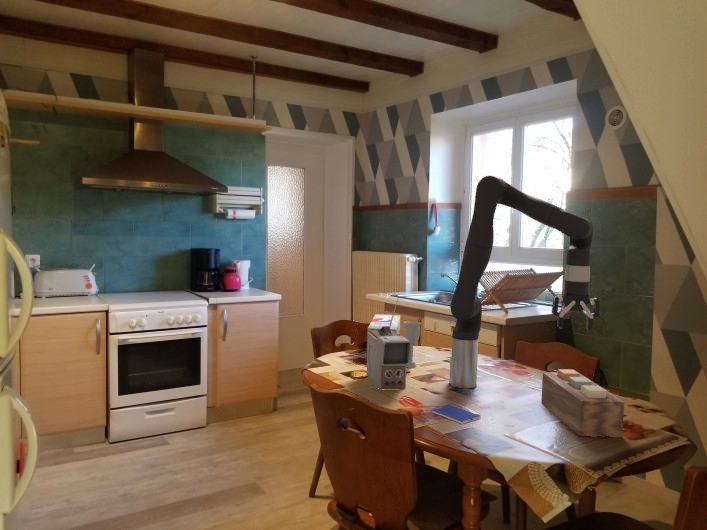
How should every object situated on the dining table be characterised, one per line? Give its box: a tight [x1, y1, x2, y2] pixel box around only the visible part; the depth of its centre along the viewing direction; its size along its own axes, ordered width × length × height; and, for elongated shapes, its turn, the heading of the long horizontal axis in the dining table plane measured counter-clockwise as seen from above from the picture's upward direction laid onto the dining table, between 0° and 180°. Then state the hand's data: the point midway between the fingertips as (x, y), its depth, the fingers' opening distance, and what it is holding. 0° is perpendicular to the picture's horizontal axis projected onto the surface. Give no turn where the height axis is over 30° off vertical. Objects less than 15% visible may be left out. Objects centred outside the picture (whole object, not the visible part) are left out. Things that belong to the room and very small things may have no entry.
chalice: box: [403, 320, 422, 369], centre depth 227 cm, size 7×7×18 cm
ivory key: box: [581, 385, 606, 398], centre depth 161 cm, size 5×5×5 cm
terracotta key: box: [557, 368, 581, 380], centre depth 179 cm, size 5×5×5 cm
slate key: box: [569, 376, 593, 389], centre depth 170 cm, size 5×5×5 cm
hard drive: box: [431, 403, 481, 425], centre depth 171 cm, size 2×8×12 cm
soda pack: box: [366, 313, 401, 343], centre depth 256 cm, size 41×13×14 cm, turn 173°
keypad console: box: [540, 371, 625, 438], centre depth 170 cm, size 12×30×10 cm, turn 1°
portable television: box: [366, 297, 412, 390], centre depth 202 cm, size 12×24×30 cm, turn 12°
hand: (574, 329), depth 182 cm, fingers open, 8 cm apart
